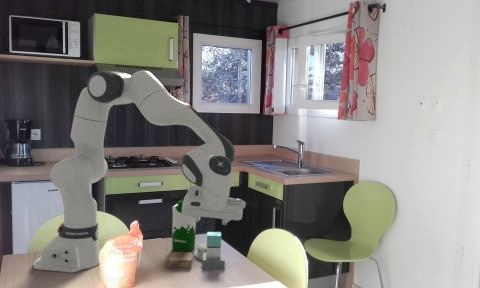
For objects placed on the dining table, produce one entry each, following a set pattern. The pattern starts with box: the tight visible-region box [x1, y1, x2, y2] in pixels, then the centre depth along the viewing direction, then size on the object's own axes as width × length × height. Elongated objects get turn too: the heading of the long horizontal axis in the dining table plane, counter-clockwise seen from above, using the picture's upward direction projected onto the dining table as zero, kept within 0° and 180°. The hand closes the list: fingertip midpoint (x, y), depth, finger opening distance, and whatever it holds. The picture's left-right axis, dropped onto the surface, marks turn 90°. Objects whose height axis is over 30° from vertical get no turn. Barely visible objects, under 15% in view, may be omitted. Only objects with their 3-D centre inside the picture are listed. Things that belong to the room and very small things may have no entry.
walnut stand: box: [168, 251, 193, 269], centre depth 158 cm, size 8×8×3 cm
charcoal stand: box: [201, 252, 226, 270], centre depth 159 cm, size 8×8×3 cm
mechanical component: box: [193, 242, 207, 261], centre depth 168 cm, size 10×4×10 cm
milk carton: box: [171, 199, 197, 253], centre depth 175 cm, size 9×9×20 cm
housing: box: [206, 231, 222, 259], centre depth 159 cm, size 5×4×9 cm
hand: (210, 221), depth 148 cm, fingers open, 8 cm apart
